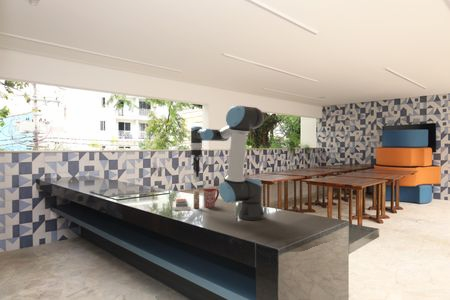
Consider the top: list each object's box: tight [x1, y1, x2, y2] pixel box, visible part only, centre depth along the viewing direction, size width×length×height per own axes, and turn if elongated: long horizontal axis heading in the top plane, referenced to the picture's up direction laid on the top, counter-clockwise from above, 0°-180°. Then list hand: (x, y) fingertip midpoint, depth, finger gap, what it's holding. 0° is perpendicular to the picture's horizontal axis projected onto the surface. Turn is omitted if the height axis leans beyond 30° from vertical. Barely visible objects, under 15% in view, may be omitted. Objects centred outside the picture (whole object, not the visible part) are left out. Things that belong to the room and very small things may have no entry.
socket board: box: [172, 198, 191, 211], centre depth 208 cm, size 11×22×4 cm, turn 10°
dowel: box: [193, 189, 200, 210], centre depth 204 cm, size 4×4×12 cm
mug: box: [202, 186, 220, 209], centre depth 210 cm, size 13×9×14 cm
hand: (196, 180), depth 204 cm, fingers open, 13 cm apart
